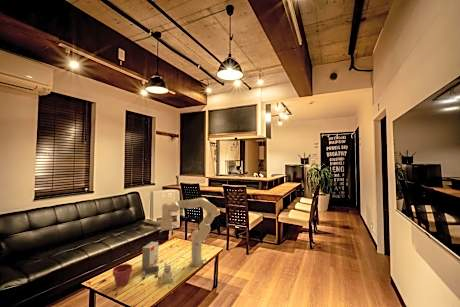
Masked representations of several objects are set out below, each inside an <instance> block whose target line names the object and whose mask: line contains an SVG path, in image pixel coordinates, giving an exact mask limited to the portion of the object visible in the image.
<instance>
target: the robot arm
mask: <svg viewBox="0 0 460 307" xmlns="http://www.w3.org/2000/svg"><path fill="white" fill-rule="evenodd" d="M161 208H162V209H161V212H162V218H161V220H160V225H159V226H157V227H156V229H157V231H158V232H159V236H160V237H162V234H163V231H171V237H172V236H173V235H174V231H175V230H176V228H177V225H175V224H173V219H172V218H173V215H171V214H172V213H173V212H174V213H176V212H178V211H179V210H180V209H189V210H190V209H195V208H201V209H203V210H204V211H206V215H205V217H204V218H203V219H202V220H201V222H200V223H199V224H198V229H195V230H192V232H191V236H190V238H191V239H190V241H191V261H189V265H190V266H191V267H200V266H202V265H203V264H204V262H207V258H205V257H204V258H202V243H203V242H204V241H205V239H206V238H207V237H208V235H209V234H210V232H211V224H212V223H213V221H214V219H215V217H216V214H217V212H218V208H217V206H216V205H214V204H213V203H211V202H210V201H209V200H208V199H206V198H205V197H197V198H193V199H185V200H183V199H181V200H177V201H172V202H171V203H168V202H167V203H163V204H162V206H161Z"/></svg>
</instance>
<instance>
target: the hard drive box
mask: <svg viewBox="0 0 460 307" xmlns="http://www.w3.org/2000/svg"><path fill="white" fill-rule="evenodd" d="M141 250H142V252H141V253H142V256H141V257H142V258H141V261H142V262H141V270H144V271H145V267H150V266H157V264H158V263H159V242H158V241H150V242H149V243H148V244H146V245H145V246H143V247H142V249H141Z"/></svg>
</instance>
